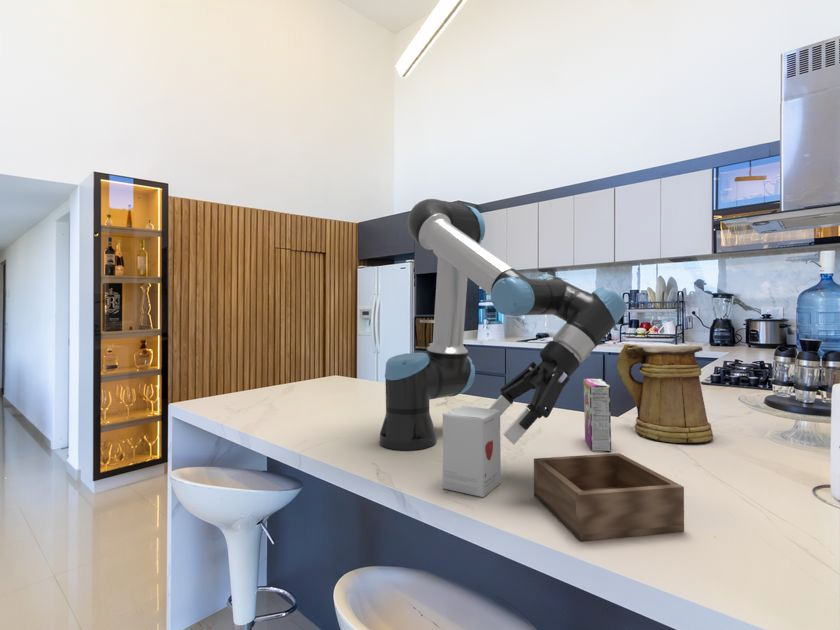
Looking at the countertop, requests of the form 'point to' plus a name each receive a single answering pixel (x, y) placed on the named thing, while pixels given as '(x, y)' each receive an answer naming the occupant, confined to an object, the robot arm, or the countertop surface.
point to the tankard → (666, 393)
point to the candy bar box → (597, 414)
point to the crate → (608, 496)
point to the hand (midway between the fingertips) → (496, 430)
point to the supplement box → (471, 450)
